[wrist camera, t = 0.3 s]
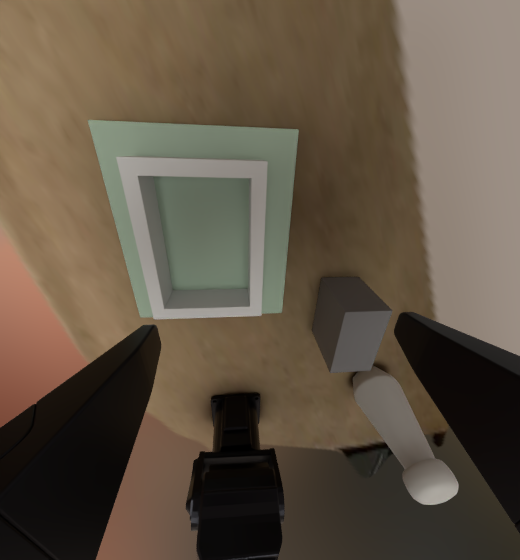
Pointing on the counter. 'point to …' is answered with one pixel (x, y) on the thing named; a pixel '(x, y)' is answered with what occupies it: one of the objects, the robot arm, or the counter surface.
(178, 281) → the deck plate
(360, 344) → the chute block
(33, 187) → the counter surface
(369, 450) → the counter surface
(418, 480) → the salt shaker
